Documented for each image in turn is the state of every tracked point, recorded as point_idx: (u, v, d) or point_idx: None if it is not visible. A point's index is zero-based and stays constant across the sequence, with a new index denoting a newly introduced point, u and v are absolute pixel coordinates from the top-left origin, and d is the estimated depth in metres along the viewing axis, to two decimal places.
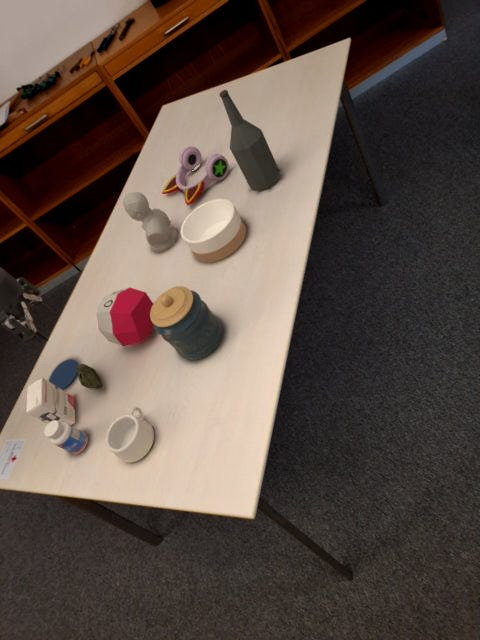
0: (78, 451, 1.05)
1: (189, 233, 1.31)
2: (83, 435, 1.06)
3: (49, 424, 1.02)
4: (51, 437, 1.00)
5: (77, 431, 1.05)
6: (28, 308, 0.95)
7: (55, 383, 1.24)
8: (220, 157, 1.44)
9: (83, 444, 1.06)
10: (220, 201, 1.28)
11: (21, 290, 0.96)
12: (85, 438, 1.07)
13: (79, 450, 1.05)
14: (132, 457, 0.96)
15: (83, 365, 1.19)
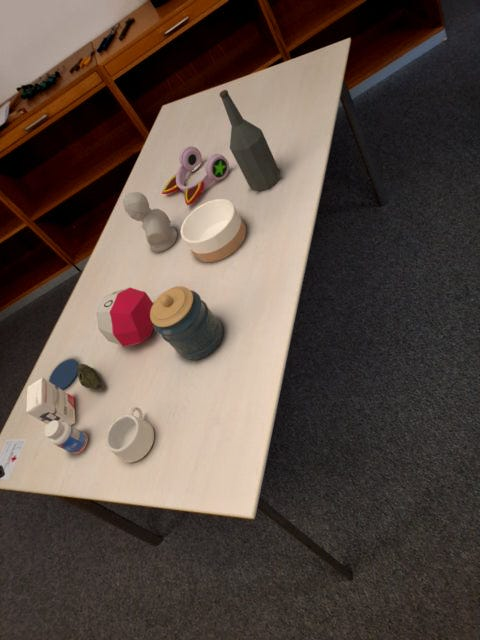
0: (78, 451, 1.05)
1: (189, 233, 1.31)
2: (83, 435, 1.06)
3: (49, 424, 1.02)
4: (51, 437, 1.00)
5: (77, 431, 1.05)
6: None
7: (55, 383, 1.24)
8: (220, 157, 1.44)
9: (83, 444, 1.06)
10: (220, 201, 1.28)
11: None
12: (85, 438, 1.07)
13: (79, 450, 1.05)
14: (132, 457, 0.96)
15: (83, 365, 1.19)
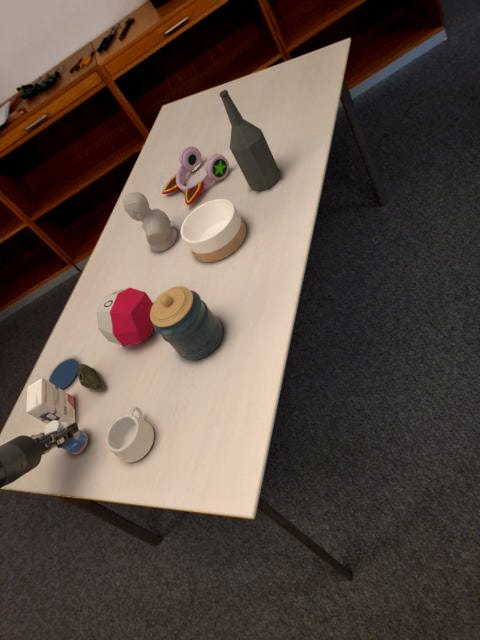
0: (78, 451, 1.05)
1: (189, 233, 1.31)
2: (83, 435, 1.06)
3: (49, 424, 1.02)
4: None
5: None
6: None
7: (55, 383, 1.24)
8: (220, 157, 1.44)
9: (83, 444, 1.06)
10: (220, 201, 1.28)
11: None
12: (85, 438, 1.07)
13: (79, 450, 1.05)
14: (132, 457, 0.96)
15: (83, 365, 1.19)
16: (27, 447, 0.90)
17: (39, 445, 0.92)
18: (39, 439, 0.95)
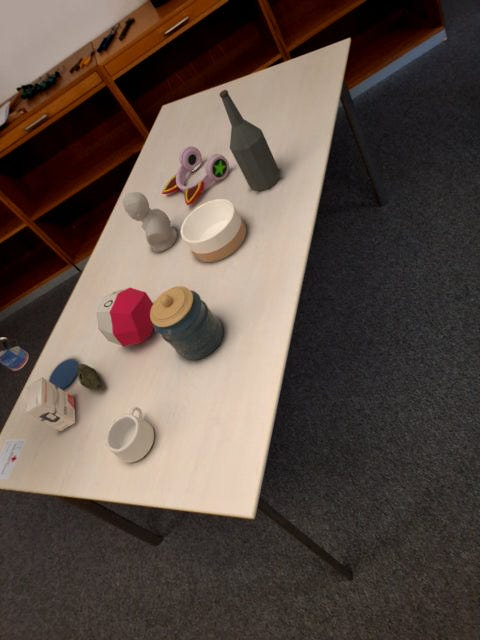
0: (18, 367, 1.07)
1: (189, 233, 1.31)
2: (23, 352, 1.08)
3: None
4: None
5: (17, 347, 1.06)
6: None
7: (55, 383, 1.24)
8: (220, 157, 1.44)
9: (23, 361, 1.07)
10: (220, 201, 1.28)
11: None
12: (26, 355, 1.08)
13: (19, 366, 1.06)
14: (132, 457, 0.96)
15: (83, 365, 1.19)
16: None
17: None
18: None
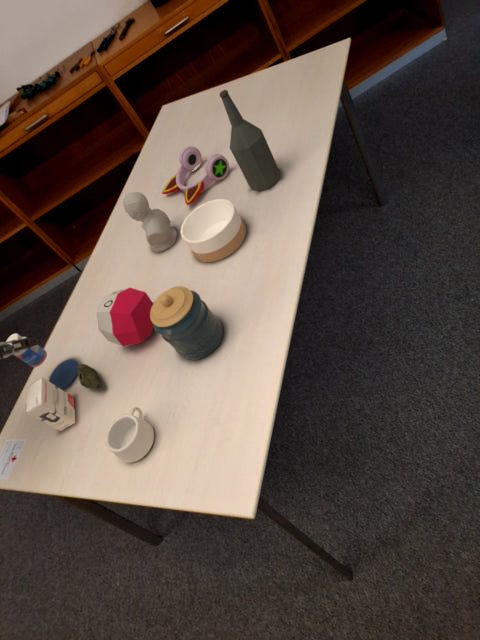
0: (38, 364, 1.16)
1: (189, 233, 1.31)
2: (42, 350, 1.17)
3: (10, 337, 1.12)
4: None
5: (36, 345, 1.16)
6: None
7: (55, 383, 1.24)
8: (220, 157, 1.44)
9: (42, 358, 1.16)
10: (220, 201, 1.28)
11: (5, 353, 1.05)
12: (44, 353, 1.17)
13: (38, 363, 1.16)
14: (132, 457, 0.96)
15: (83, 365, 1.19)
16: None
17: None
18: None
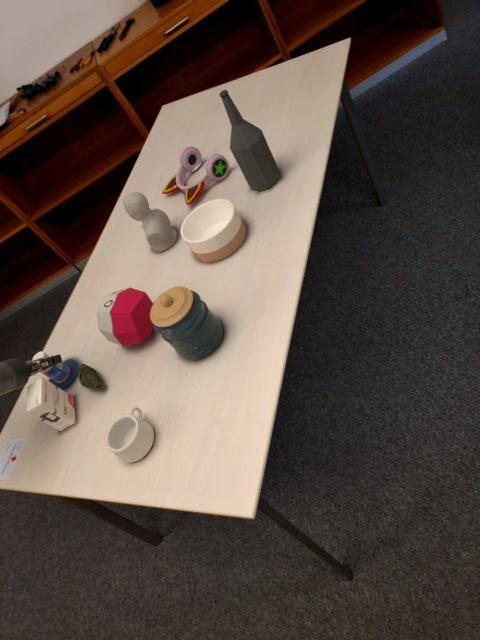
0: (62, 380, 1.22)
1: (189, 233, 1.31)
2: (66, 367, 1.23)
3: (36, 354, 1.19)
4: None
5: (61, 362, 1.22)
6: None
7: (55, 383, 1.24)
8: (220, 157, 1.44)
9: (66, 374, 1.23)
10: (220, 201, 1.28)
11: (34, 371, 1.12)
12: (68, 369, 1.24)
13: (62, 379, 1.22)
14: (132, 457, 0.96)
15: (83, 365, 1.19)
16: (16, 366, 1.07)
17: (27, 366, 1.09)
18: (27, 363, 1.12)
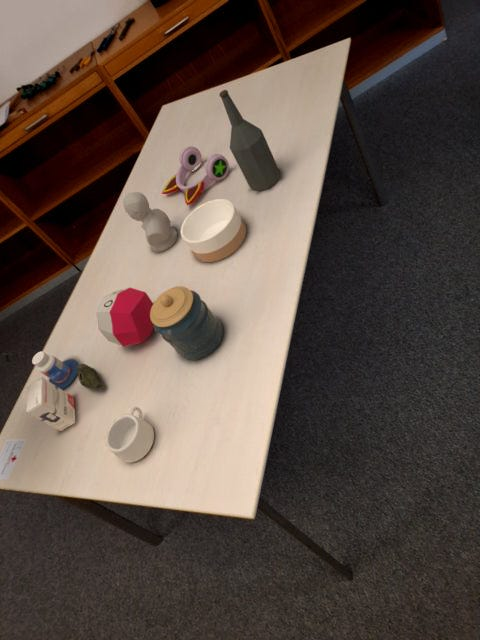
0: (62, 380, 1.22)
1: (189, 233, 1.31)
2: (66, 367, 1.23)
3: (36, 354, 1.19)
4: (38, 365, 1.17)
5: (61, 362, 1.22)
6: None
7: (55, 383, 1.24)
8: (220, 157, 1.44)
9: (66, 374, 1.23)
10: (220, 201, 1.28)
11: None
12: (68, 369, 1.24)
13: (62, 379, 1.22)
14: (132, 457, 0.96)
15: (83, 365, 1.19)
16: None
17: None
18: None
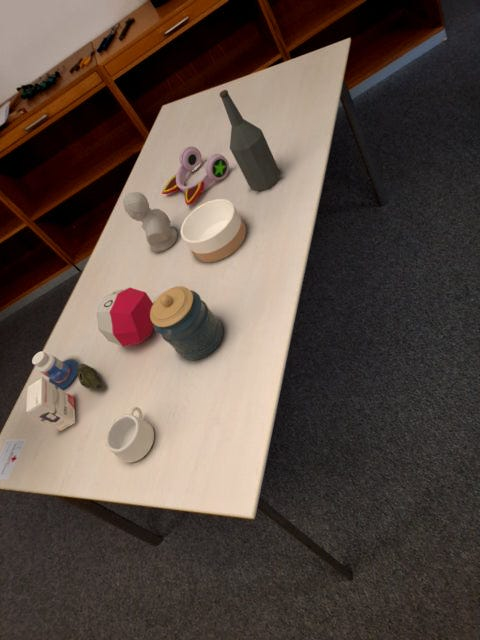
0: (62, 380, 1.22)
1: (189, 233, 1.31)
2: (66, 367, 1.23)
3: (36, 354, 1.19)
4: (38, 365, 1.17)
5: (61, 362, 1.22)
6: None
7: (55, 383, 1.24)
8: (220, 157, 1.44)
9: (66, 374, 1.23)
10: (220, 201, 1.28)
11: None
12: (68, 369, 1.24)
13: (62, 379, 1.22)
14: (132, 457, 0.96)
15: (83, 365, 1.19)
16: None
17: None
18: None
